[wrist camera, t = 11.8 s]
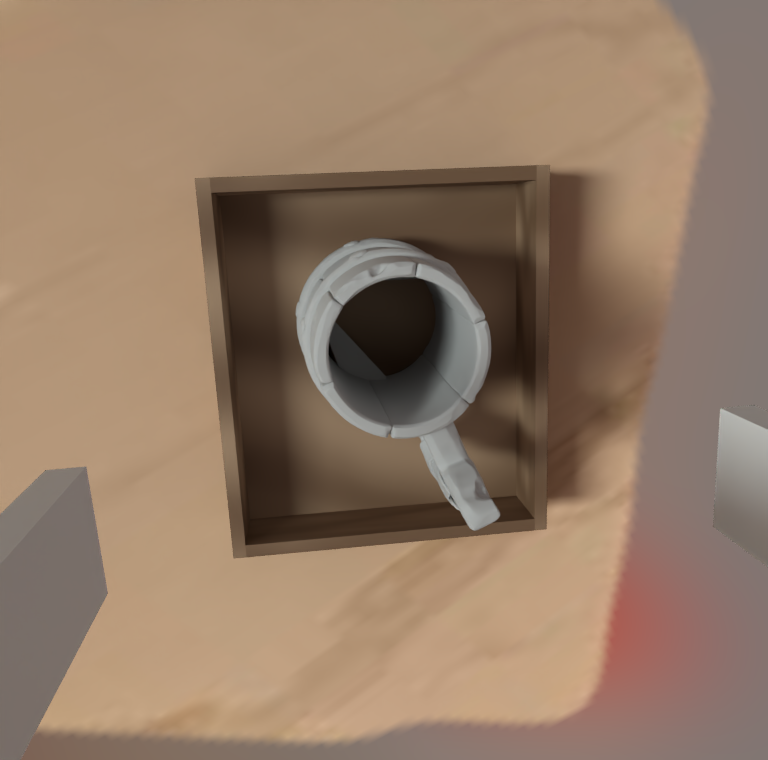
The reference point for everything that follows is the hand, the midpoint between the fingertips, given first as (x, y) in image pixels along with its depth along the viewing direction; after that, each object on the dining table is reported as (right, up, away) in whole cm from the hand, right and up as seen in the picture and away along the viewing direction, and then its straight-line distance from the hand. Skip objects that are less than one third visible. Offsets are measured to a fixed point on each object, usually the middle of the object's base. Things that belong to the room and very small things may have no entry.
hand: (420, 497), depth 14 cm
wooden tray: (-1, +4, +21) cm, 21 cm away
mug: (0, +4, +20) cm, 20 cm away
